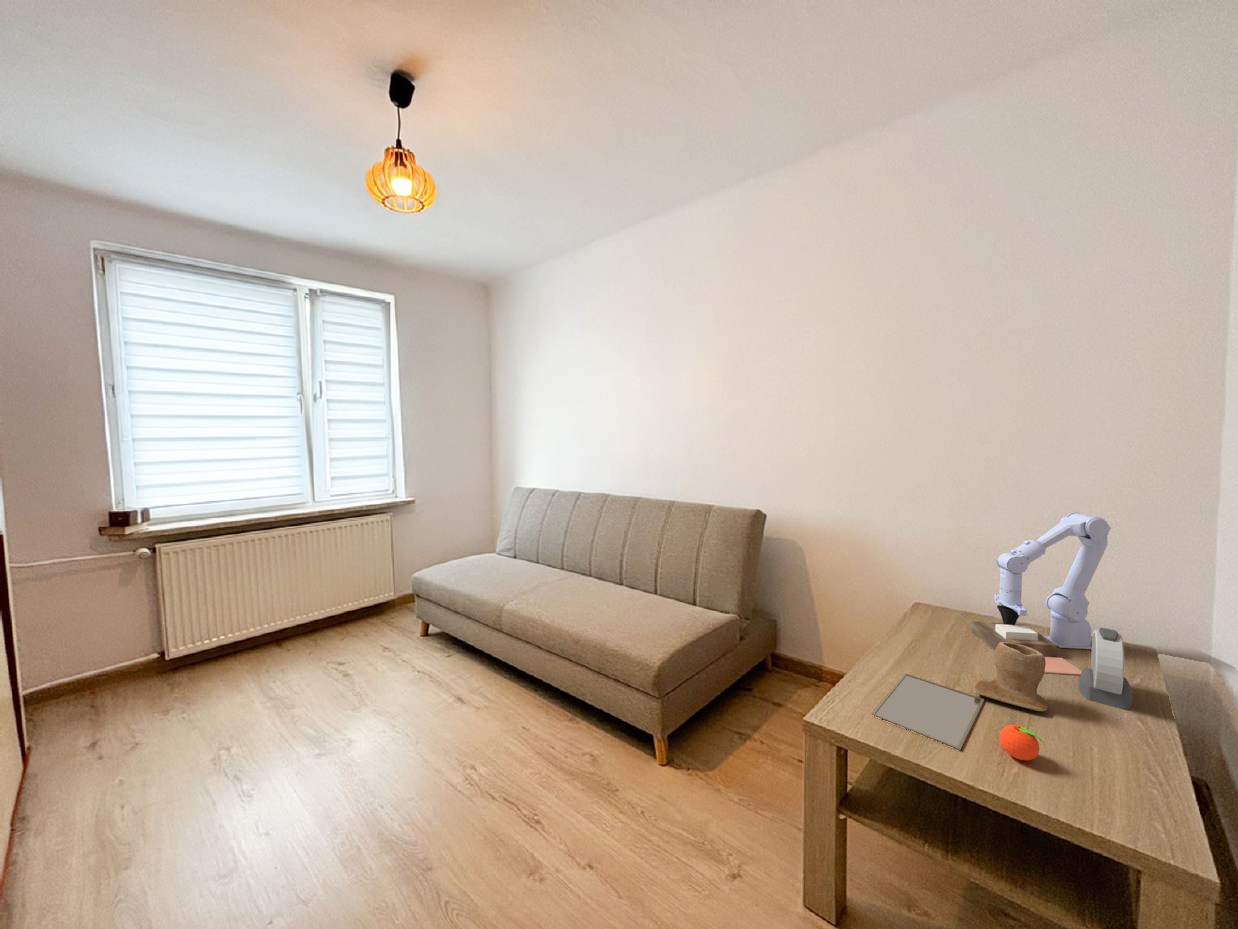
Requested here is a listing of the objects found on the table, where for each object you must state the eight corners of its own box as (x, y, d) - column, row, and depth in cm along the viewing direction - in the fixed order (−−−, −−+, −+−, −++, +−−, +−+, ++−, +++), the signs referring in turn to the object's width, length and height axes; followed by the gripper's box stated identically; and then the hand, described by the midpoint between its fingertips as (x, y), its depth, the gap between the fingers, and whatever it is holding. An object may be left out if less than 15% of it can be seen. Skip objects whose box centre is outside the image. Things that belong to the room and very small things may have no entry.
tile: (1026, 632, 157) (1026, 625, 157) (1037, 640, 152) (1038, 633, 151) (995, 630, 159) (995, 624, 159) (1005, 638, 154) (1006, 631, 153)
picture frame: (960, 753, 108) (984, 702, 127) (960, 749, 108) (984, 698, 127) (871, 717, 122) (904, 676, 141) (871, 713, 122) (904, 673, 141)
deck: (1023, 635, 164) (1024, 624, 164) (1055, 657, 149) (1056, 645, 148) (972, 632, 168) (972, 621, 167) (998, 653, 152) (998, 641, 152)
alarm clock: (1136, 716, 119) (1140, 647, 118) (1080, 701, 126) (1083, 635, 124) (1128, 688, 131) (1132, 625, 129) (1077, 676, 138) (1080, 616, 136)
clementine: (1046, 758, 105) (1047, 728, 105) (1044, 775, 101) (1045, 743, 100) (1000, 742, 111) (1001, 713, 110) (996, 757, 106) (998, 727, 106)
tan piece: (1046, 698, 127) (1049, 645, 126) (1048, 720, 118) (1051, 663, 117) (976, 680, 137) (978, 630, 136) (973, 698, 128) (975, 646, 127)
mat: (1061, 659, 147) (1062, 657, 147) (1086, 675, 138) (1086, 674, 138) (996, 655, 151) (996, 653, 151) (1015, 671, 141) (1015, 669, 141)
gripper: (985, 581, 166) (983, 618, 167) (1009, 596, 152) (1008, 636, 153) (1007, 582, 165) (1006, 619, 166) (1035, 597, 151) (1033, 638, 152)
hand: (1008, 628), depth 159 cm, fingers closed
